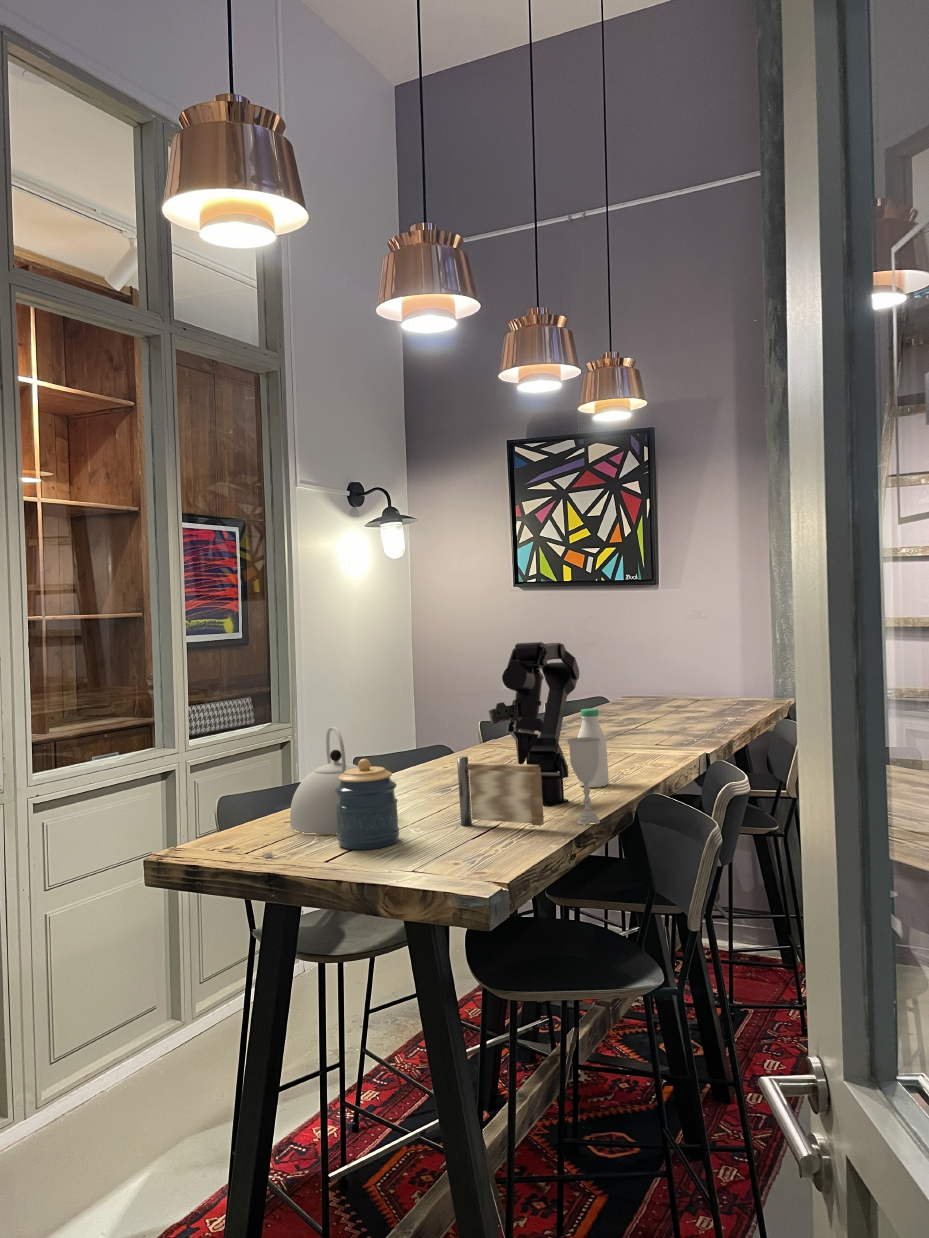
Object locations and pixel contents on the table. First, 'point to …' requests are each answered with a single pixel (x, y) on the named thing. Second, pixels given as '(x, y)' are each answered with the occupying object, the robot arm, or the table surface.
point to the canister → (366, 808)
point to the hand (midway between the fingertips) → (520, 764)
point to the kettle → (320, 794)
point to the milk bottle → (593, 729)
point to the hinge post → (464, 791)
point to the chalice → (585, 770)
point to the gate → (506, 792)
